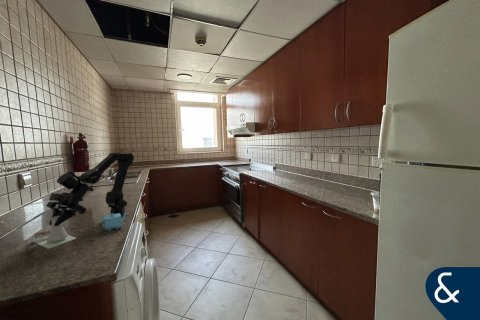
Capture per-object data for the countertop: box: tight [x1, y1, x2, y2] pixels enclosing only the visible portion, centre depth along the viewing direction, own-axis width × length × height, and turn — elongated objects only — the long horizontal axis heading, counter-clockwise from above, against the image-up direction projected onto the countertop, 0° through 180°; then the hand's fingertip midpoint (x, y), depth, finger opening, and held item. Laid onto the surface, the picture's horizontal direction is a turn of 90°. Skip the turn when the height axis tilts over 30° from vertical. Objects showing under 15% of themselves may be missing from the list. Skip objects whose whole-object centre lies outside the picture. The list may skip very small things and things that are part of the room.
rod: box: [33, 228, 51, 237], centre depth 94 cm, size 9×2×2 cm, turn 153°
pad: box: [36, 234, 77, 250], centre depth 91 cm, size 10×10×1 cm
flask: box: [47, 216, 69, 242], centre depth 90 cm, size 7×7×10 cm
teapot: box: [100, 212, 128, 232], centre depth 104 cm, size 12×6×8 cm, turn 125°
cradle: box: [31, 234, 49, 244], centre depth 94 cm, size 10×4×3 cm, turn 153°
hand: (52, 225), depth 89 cm, fingers closed on flask, 3 cm apart
